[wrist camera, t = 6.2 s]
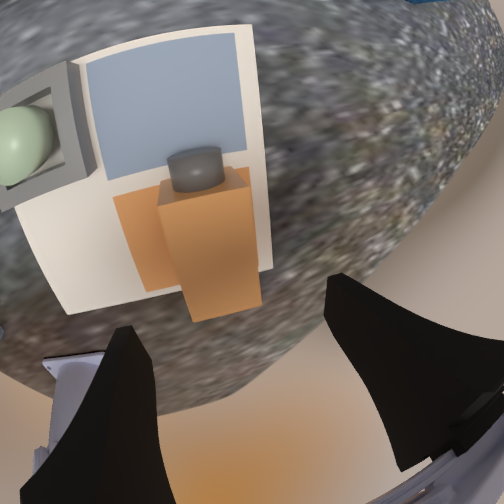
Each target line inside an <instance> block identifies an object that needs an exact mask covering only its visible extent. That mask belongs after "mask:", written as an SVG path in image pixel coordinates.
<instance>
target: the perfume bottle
mask: <svg viewBox="0 0 504 504" xmlns="http://www.w3.org/2000/svg"><path fill="white" fill-rule="evenodd" d="M405 1H408V2H410V3H412V4H419V3H426V2H436V1H449V0H405Z"/></svg>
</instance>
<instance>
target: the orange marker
mask: <svg viewBox="0 0 504 504" xmlns="http://www.w3.org/2000/svg"><path fill="white" fill-rule="evenodd" d="M167 163H168V168H169V173H170V179H166V180H162V181H161V182H160V189H159V196H158V204H157V208H158V212H159V216H160V219H161V223H162V227H163V230H164V234H165V237H166V241H167V244H168V247H169V251H170V254H171V257H172V261H173V264H174V267H175V270H176V273H177V277H178V280H179V283H180V286H181V289H182V292H183V295H184V298H185V301H186V304H187V306H188V309H189V312H190V315H191V318H192V320H193V323H194V322H199V321H203V320H207V319H211V318H215V317H219V316H223V315H227V314H231V313H235V312H239V311H243V310H247V309H251V308H254V307H258V306H262V300H261V290H260V281H259V272H258V262H257V253H256V244H255V235H254V226H253V217H252V207H251V198H250V189H249V186H248V185H247V184H246V182H245V181H244V180H243V179H242V178H241V177H240V176H239V174H238V173H237V172H236V171H235V170H234V169H233V168H232V167H231V166H227V167H224V166H223V159H222V151H221V148H220V147H201V148H195V149H190V150H186V151H182V152H179V153H176V154H174V155H171V156H170V157H168V158H167Z"/></svg>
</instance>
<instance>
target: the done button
mask: <svg viewBox="0 0 504 504" xmlns="http://www.w3.org/2000/svg"><path fill="white" fill-rule="evenodd" d="M53 141H54V130H53V124H52V121H51V119H50V117H49V115H48V114H47V112H46V111H45V110H44V109H42V108H41V107H38V106H35V105H27V106H20V107H13V108H7V109H4V110H2V111H0V185H4V186H10V185H14V184H16V183H18V182H20V181H21V180H23V179H24V178H26V177H27V176H29V175H30V174H32V173H33V172H35V171H36V170H38V169H39V168H40V167H41V166H42V165H43V164H44V163H45V162H46V160H47V159H48V157H49V155H50V153H51V150H52V146H53Z"/></svg>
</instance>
